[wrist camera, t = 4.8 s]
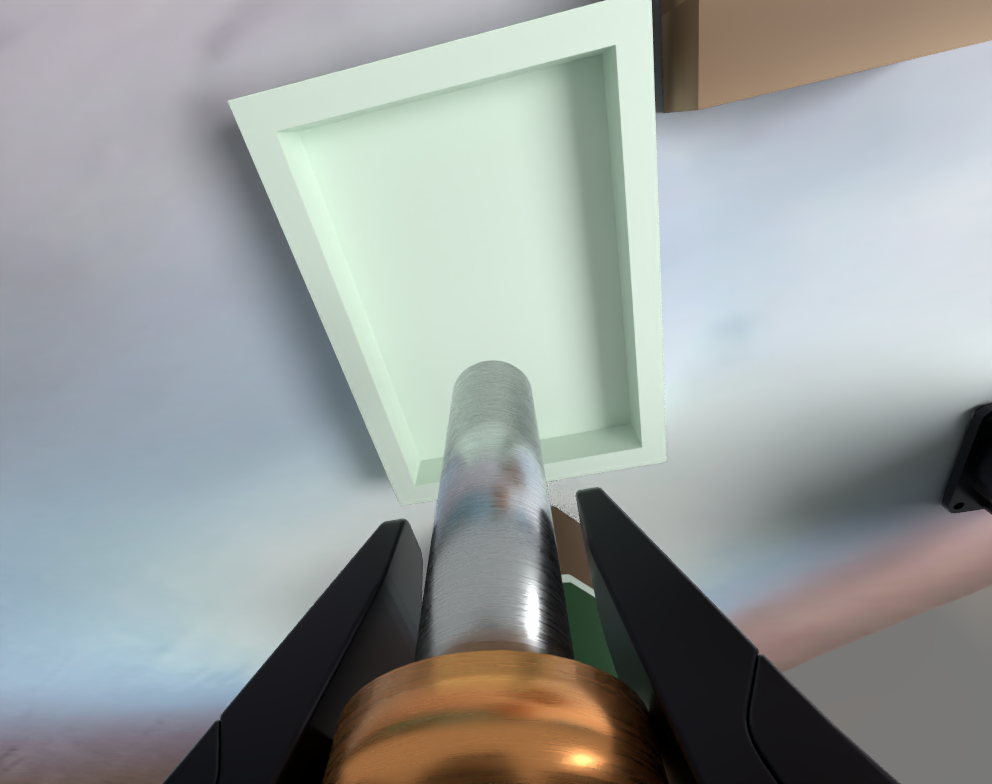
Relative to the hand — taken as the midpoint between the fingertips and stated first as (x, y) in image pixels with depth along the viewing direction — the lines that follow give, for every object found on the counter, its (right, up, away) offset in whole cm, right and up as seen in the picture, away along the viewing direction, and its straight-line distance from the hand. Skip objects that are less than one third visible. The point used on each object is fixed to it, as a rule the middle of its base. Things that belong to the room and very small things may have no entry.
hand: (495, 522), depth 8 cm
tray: (0, +6, +11) cm, 12 cm away
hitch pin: (0, +2, +4) cm, 4 cm away
